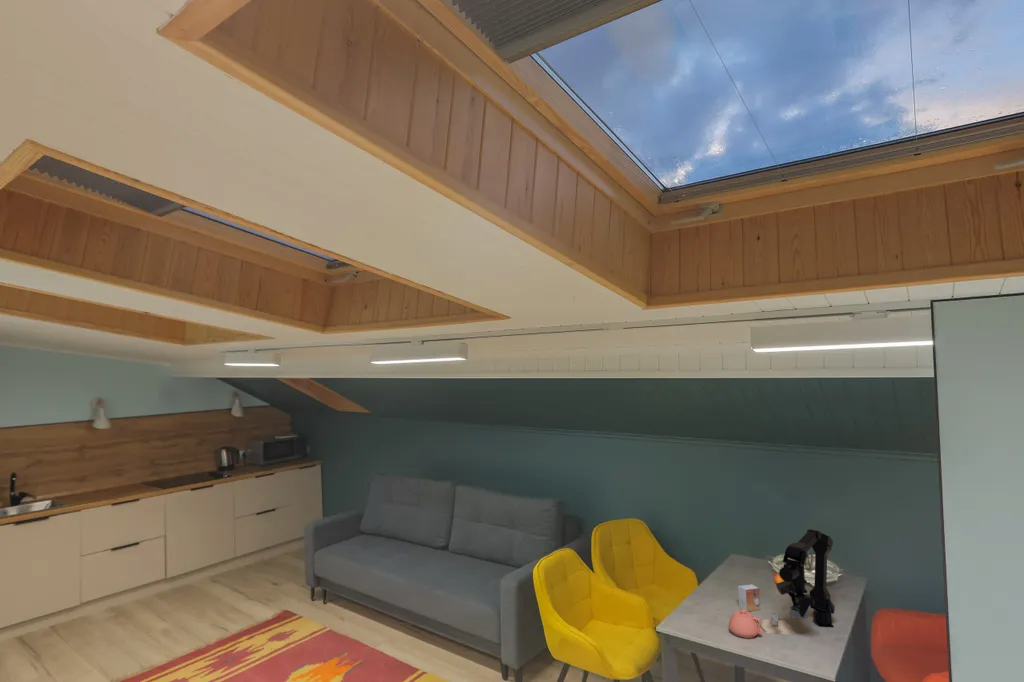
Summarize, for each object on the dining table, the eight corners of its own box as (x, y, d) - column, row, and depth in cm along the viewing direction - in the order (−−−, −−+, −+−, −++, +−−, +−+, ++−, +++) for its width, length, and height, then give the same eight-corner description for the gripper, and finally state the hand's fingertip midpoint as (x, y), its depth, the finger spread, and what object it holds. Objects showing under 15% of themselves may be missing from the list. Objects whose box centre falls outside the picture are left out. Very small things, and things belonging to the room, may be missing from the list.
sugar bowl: (734, 625, 251) (733, 602, 252) (766, 634, 242) (765, 610, 243) (725, 635, 242) (724, 611, 242) (758, 644, 233) (757, 619, 233)
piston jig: (783, 622, 253) (783, 608, 254) (794, 634, 241) (793, 620, 242) (756, 621, 254) (756, 608, 255) (765, 633, 243) (764, 619, 243)
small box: (746, 612, 264) (745, 589, 265) (738, 607, 270) (737, 585, 271) (760, 610, 267) (759, 587, 267) (752, 605, 272) (751, 583, 273)
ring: (803, 612, 241) (803, 605, 241) (809, 619, 234) (809, 612, 234) (788, 612, 241) (788, 605, 241) (794, 618, 235) (793, 611, 235)
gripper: (770, 568, 249) (771, 603, 248) (785, 583, 231) (787, 622, 229) (796, 569, 248) (797, 604, 247) (814, 584, 229) (815, 623, 228)
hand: (798, 613), depth 238 cm, fingers closed on ring, 6 cm apart
